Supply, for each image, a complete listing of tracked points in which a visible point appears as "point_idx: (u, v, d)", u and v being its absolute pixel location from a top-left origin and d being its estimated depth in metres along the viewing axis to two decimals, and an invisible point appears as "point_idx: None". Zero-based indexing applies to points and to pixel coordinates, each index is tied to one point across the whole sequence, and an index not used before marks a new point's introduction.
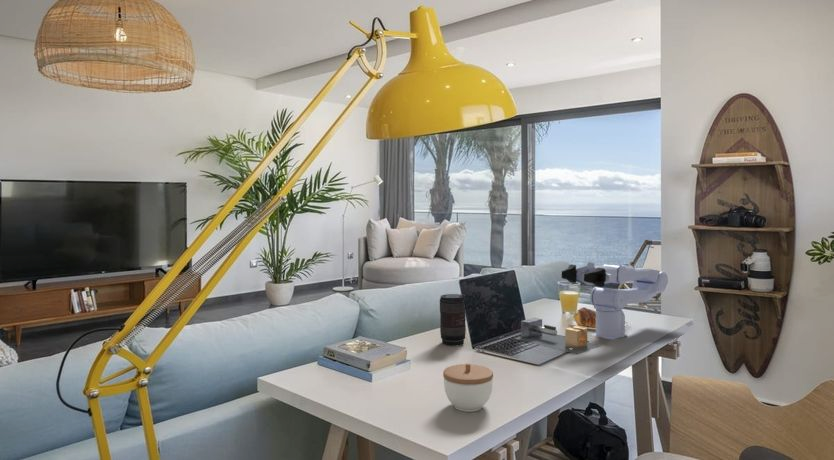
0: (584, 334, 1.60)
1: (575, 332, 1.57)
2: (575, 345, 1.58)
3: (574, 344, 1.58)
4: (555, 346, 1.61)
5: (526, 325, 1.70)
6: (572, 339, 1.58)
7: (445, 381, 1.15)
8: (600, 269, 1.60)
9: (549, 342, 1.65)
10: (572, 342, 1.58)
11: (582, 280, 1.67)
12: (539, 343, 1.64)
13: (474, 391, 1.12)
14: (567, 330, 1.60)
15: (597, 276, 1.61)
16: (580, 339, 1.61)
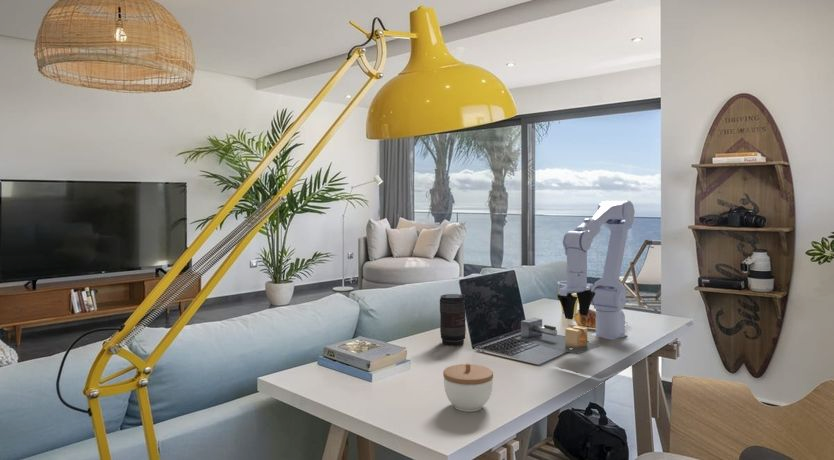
0: (584, 334, 1.60)
1: (575, 332, 1.57)
2: (575, 345, 1.58)
3: (574, 344, 1.58)
4: (555, 346, 1.61)
5: (526, 325, 1.70)
6: (572, 339, 1.58)
7: (445, 381, 1.15)
8: (593, 296, 1.61)
9: (549, 342, 1.65)
10: (572, 342, 1.58)
11: None
12: (539, 343, 1.64)
13: (474, 391, 1.12)
14: (567, 330, 1.60)
15: None
16: (580, 339, 1.61)
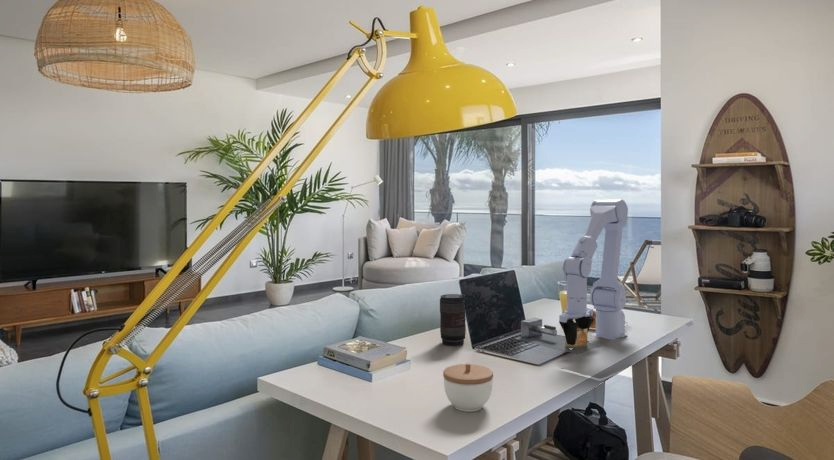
0: (584, 334, 1.60)
1: None
2: (575, 345, 1.58)
3: (574, 344, 1.58)
4: (555, 346, 1.61)
5: (526, 325, 1.70)
6: None
7: (445, 381, 1.15)
8: (591, 321, 1.61)
9: (549, 342, 1.65)
10: None
11: None
12: (539, 343, 1.64)
13: (474, 391, 1.12)
14: None
15: None
16: (580, 339, 1.61)
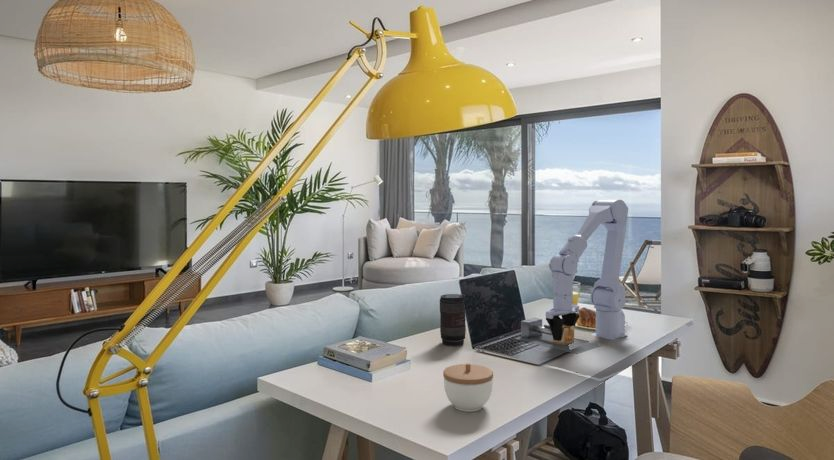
0: (571, 331, 1.64)
1: (562, 329, 1.61)
2: (562, 342, 1.61)
3: (561, 341, 1.61)
4: (555, 346, 1.61)
5: (526, 325, 1.70)
6: None
7: (445, 381, 1.15)
8: (577, 318, 1.65)
9: (549, 342, 1.65)
10: None
11: None
12: (539, 343, 1.64)
13: (474, 391, 1.12)
14: None
15: None
16: (567, 336, 1.65)
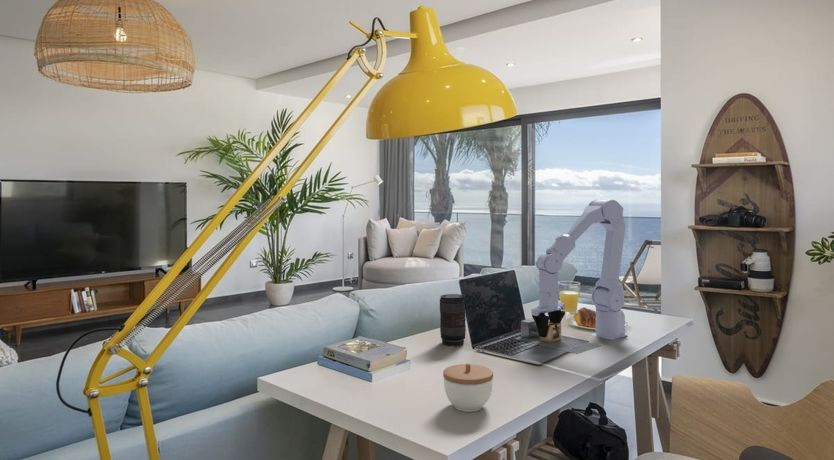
0: (558, 328, 1.67)
1: (549, 326, 1.65)
2: (549, 339, 1.65)
3: (548, 338, 1.65)
4: (555, 346, 1.61)
5: (526, 325, 1.70)
6: None
7: (445, 381, 1.15)
8: (563, 315, 1.69)
9: None
10: (546, 336, 1.65)
11: None
12: (539, 343, 1.64)
13: (474, 391, 1.12)
14: None
15: None
16: None
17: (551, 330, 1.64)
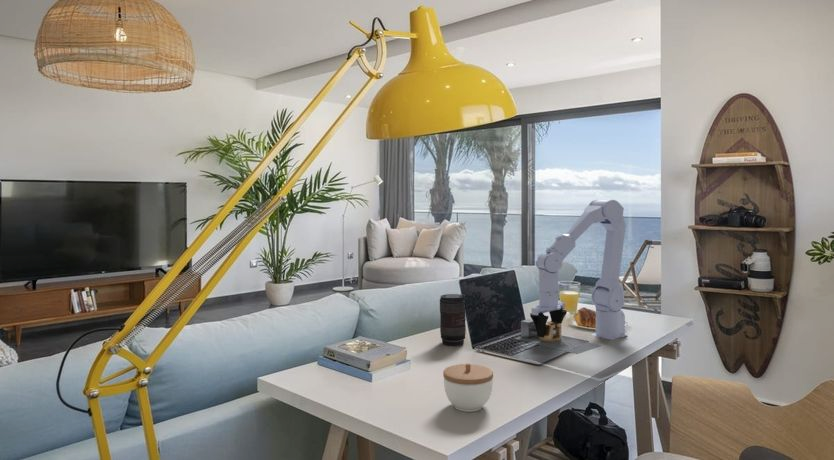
0: (558, 328, 1.67)
1: (549, 326, 1.64)
2: (549, 339, 1.65)
3: (548, 338, 1.65)
4: (555, 346, 1.61)
5: (526, 325, 1.70)
6: (546, 334, 1.65)
7: (445, 381, 1.15)
8: (564, 314, 1.69)
9: None
10: (546, 336, 1.65)
11: None
12: (539, 343, 1.64)
13: (474, 391, 1.12)
14: None
15: None
16: None
17: (551, 330, 1.64)
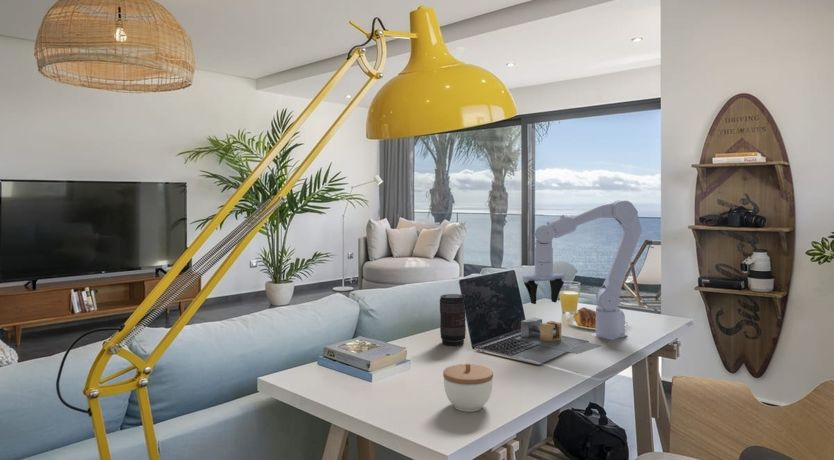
0: (558, 328, 1.67)
1: (549, 326, 1.64)
2: (549, 339, 1.65)
3: (548, 338, 1.65)
4: (555, 346, 1.61)
5: (526, 325, 1.70)
6: (546, 334, 1.65)
7: (445, 381, 1.15)
8: (561, 285, 1.76)
9: None
10: (546, 336, 1.65)
11: None
12: (539, 343, 1.64)
13: (474, 391, 1.12)
14: (542, 325, 1.67)
15: None
16: None
17: (551, 330, 1.64)
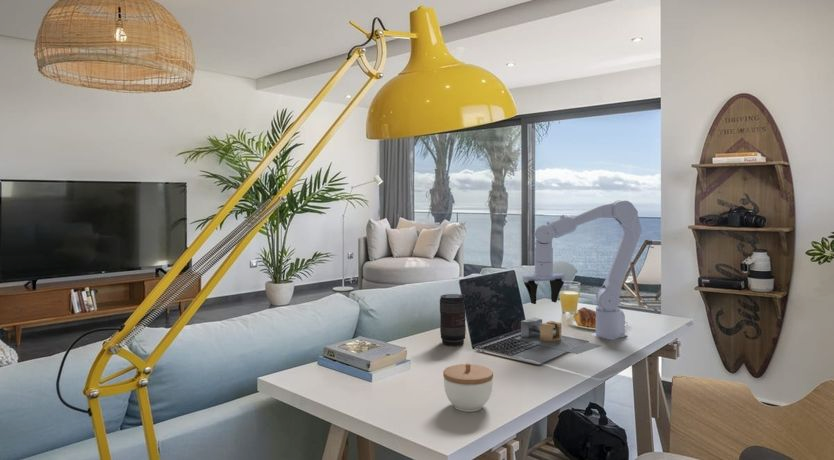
0: (558, 328, 1.67)
1: (549, 326, 1.64)
2: (549, 339, 1.65)
3: (548, 338, 1.65)
4: (555, 346, 1.61)
5: (526, 325, 1.70)
6: (546, 334, 1.65)
7: (445, 381, 1.15)
8: (561, 285, 1.76)
9: None
10: (546, 336, 1.65)
11: None
12: (539, 343, 1.64)
13: (474, 391, 1.12)
14: (542, 325, 1.67)
15: None
16: None
17: (551, 330, 1.64)
